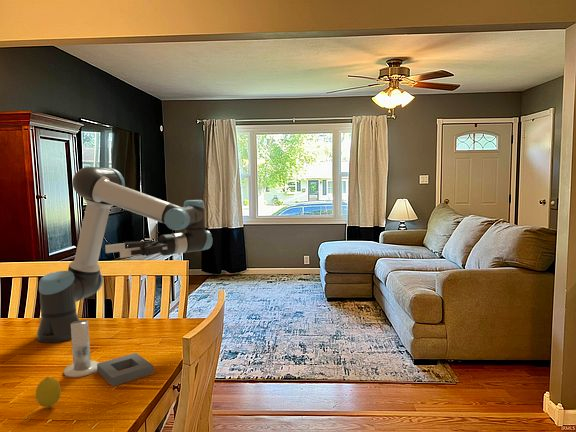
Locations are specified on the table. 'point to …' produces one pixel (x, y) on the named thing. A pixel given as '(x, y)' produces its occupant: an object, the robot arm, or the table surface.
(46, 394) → the lemon
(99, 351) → the table surface
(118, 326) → the table surface
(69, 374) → the coaster
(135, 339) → the table surface
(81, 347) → the metal part
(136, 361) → the pocket board
